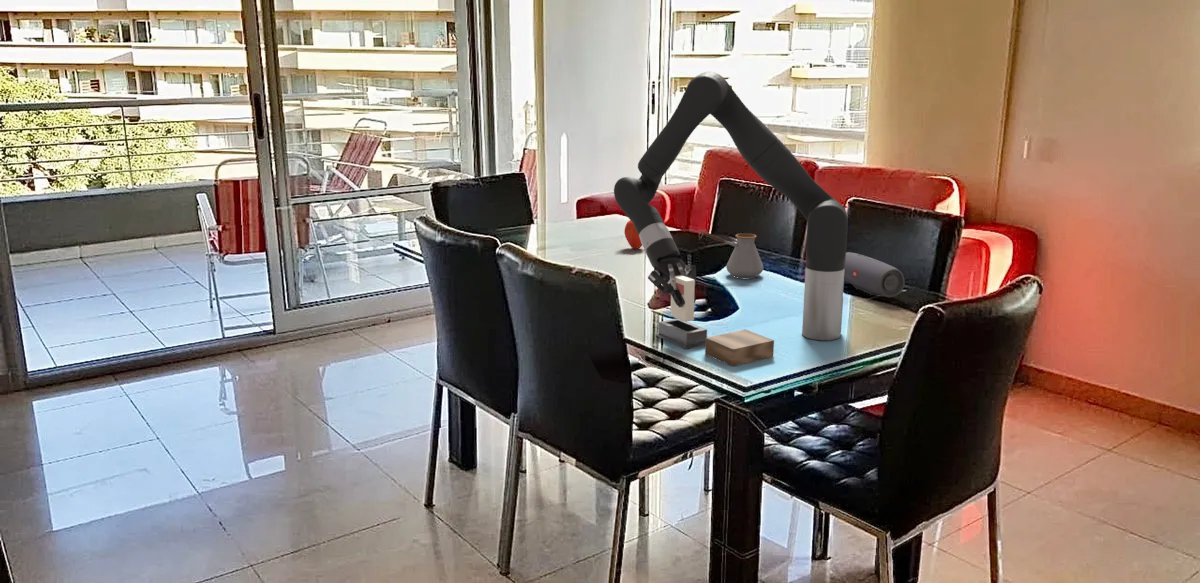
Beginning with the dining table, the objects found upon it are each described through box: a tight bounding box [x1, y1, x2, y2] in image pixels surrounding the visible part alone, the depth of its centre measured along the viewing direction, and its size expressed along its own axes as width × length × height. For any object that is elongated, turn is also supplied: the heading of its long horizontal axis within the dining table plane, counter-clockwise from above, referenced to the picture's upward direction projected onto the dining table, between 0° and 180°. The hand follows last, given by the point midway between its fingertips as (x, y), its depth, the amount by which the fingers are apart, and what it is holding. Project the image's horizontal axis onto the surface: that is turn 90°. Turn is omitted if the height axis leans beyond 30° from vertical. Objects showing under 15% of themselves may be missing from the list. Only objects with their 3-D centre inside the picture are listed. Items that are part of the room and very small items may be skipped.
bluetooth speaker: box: [844, 251, 906, 298], centre depth 267 cm, size 23×9×10 cm, turn 18°
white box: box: [670, 275, 696, 322], centre depth 223 cm, size 3×6×10 cm, turn 32°
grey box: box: [655, 318, 708, 350], centre depth 226 cm, size 7×12×4 cm, turn 32°
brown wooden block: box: [704, 328, 775, 367], centre depth 214 cm, size 12×10×4 cm
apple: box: [624, 219, 643, 250], centre depth 325 cm, size 9×8×11 cm
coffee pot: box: [698, 231, 764, 279], centre depth 284 cm, size 21×12×15 cm, turn 108°
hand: (687, 304), depth 222 cm, fingers closed on white box, 2 cm apart
